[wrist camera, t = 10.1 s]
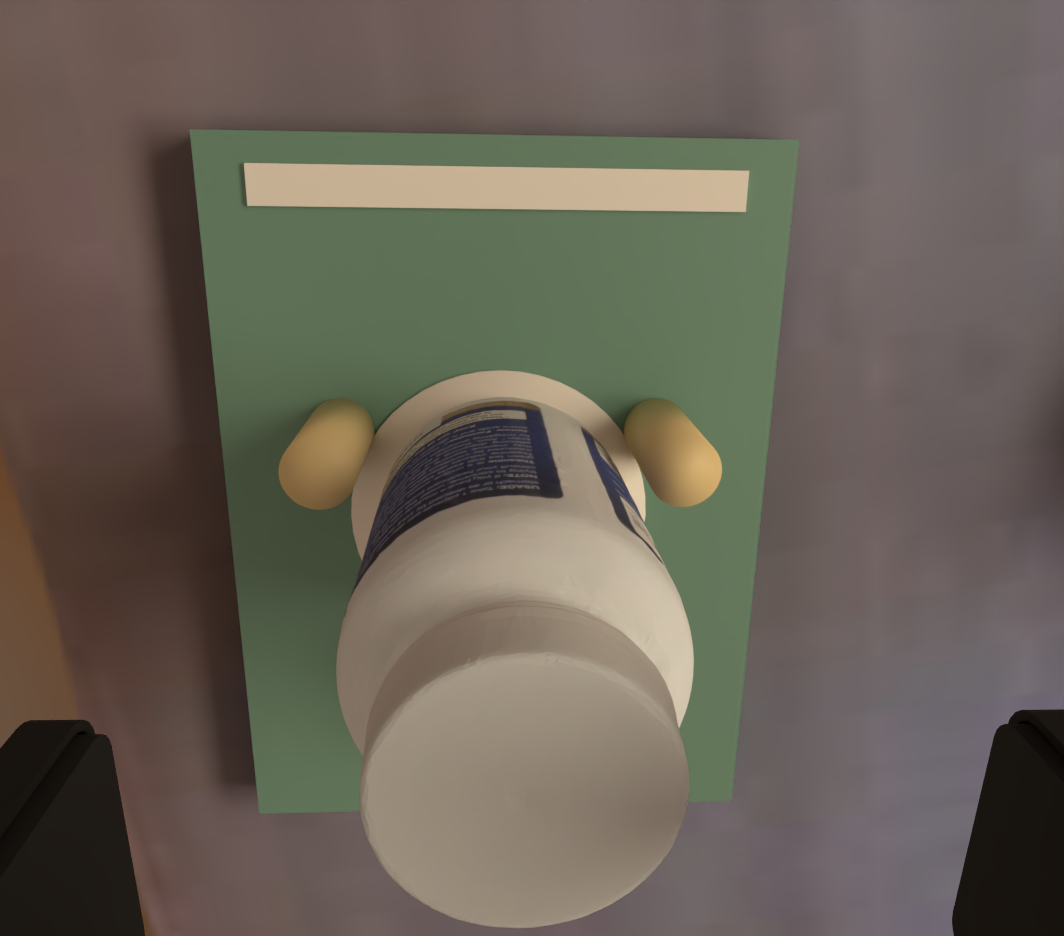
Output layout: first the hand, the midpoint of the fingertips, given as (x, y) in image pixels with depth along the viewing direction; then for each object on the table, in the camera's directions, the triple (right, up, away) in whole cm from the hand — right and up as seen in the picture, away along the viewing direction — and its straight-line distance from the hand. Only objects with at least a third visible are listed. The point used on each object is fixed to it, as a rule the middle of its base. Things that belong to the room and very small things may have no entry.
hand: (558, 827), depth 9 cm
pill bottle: (-1, +3, +11) cm, 11 cm away
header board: (-1, +3, +11) cm, 12 cm away
